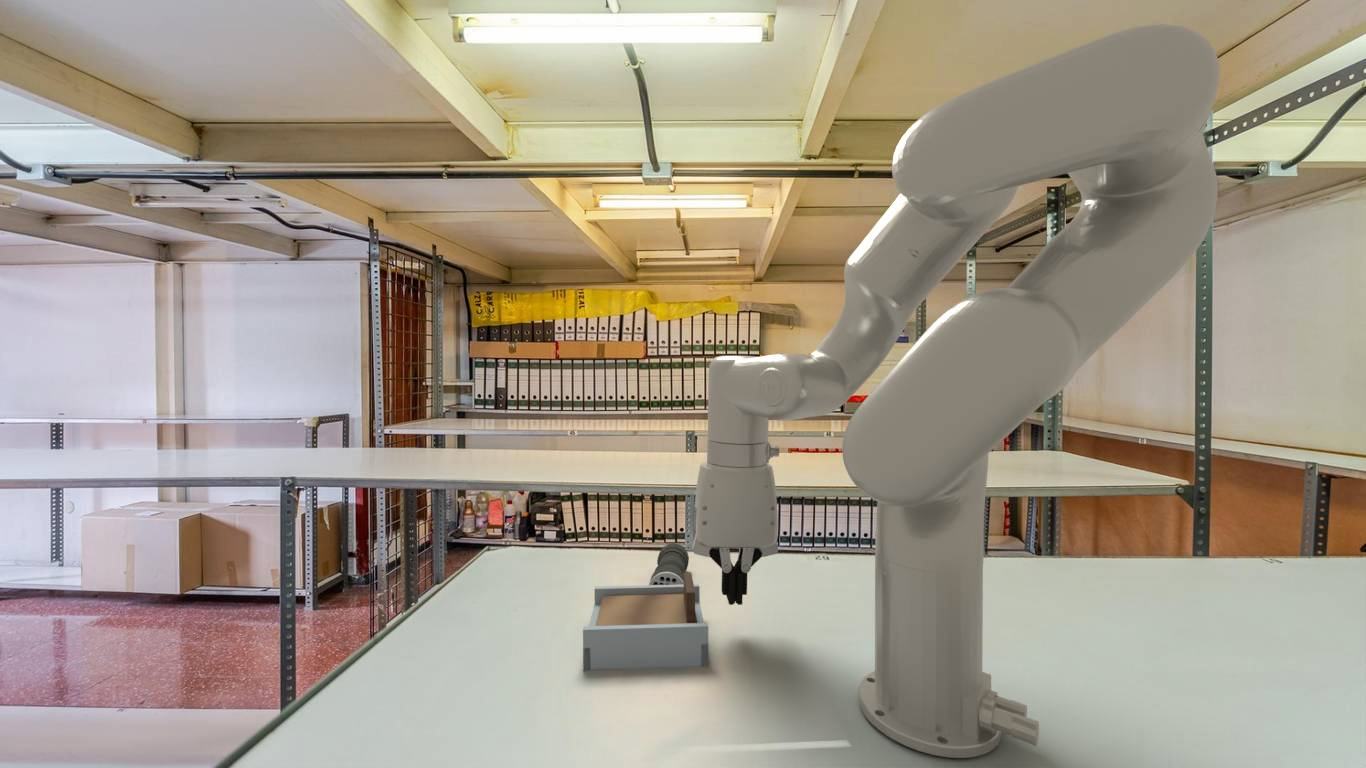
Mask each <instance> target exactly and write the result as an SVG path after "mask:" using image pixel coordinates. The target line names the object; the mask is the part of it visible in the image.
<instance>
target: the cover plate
mask: <svg viewBox="0 0 1366 768" xmlns="http://www.w3.org/2000/svg"><path fill="white" fill-rule="evenodd" d="M694 584H695V583H694V580H693V574H692V572H691V571H685V572H684V594H661V595H623V596H602V601H601V605H600V609H599V613H598V618H597V622H596V626H617V625H652V624H686V623H697V622H696V617H695V589H694Z"/></svg>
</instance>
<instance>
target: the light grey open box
mask: <svg viewBox="0 0 1366 768" xmlns="http://www.w3.org/2000/svg"><path fill="white" fill-rule="evenodd" d="M693 584H694V589H695V617H696V622H697V623H686V624H652V625H617V626H596V622H597V618H598V613H599V609H600V605H601V601H602V596H623V595H661V594H684V584H678V585H675V584H672V585H669V584H666V585H649V584H648V585H646V584H645V585H640V584H639V585H605V586H604V585H603V586H602V585H601V586H595V587H594V605H593V609H592V611H591V616H590V619H589V623H588V626H587V625H586V626H583V629H582V648H583V649H582V662H583V663H582V667H583V668H582V669H583V670H582V671H612V670H613V671H614V670H617V671H618V670H640V669H641V670H642V669H643V670H645V669H647V670H648V669H674V668H675V669H676V668H698V667H699V668H700V667H701V668H704V667H705V668H706V667H709V625H708V622H705V621H704V616H703V612H702V606H701V602H700V584H699V583H693Z"/></svg>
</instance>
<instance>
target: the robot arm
mask: <svg viewBox="0 0 1366 768" xmlns="http://www.w3.org/2000/svg"><path fill="white" fill-rule="evenodd" d="M1219 62H1220V61H1219V59H1218V54H1217V52H1216V50H1215V49H1214V48H1213V46H1212V44H1211V43H1210V42H1209V40H1207V39H1206V38H1205V37H1204V36H1203V35H1201V34H1200V33H1198V32H1197V31H1195V30H1192V29H1189V28H1187V27H1184V26H1181V25H1173V24H1172V25H1171V24H1164V23H1163V24H1162V23H1161V24H1149V25H1148V24H1147V25H1141V26H1136V27H1132V28H1128V29H1123V30H1121V31H1116V32H1113V33H1110V34H1107V35H1105V36H1102V37H1099V38H1097V39H1094V40H1091V41H1089V42H1086V43H1083V44H1081V45H1078V46H1076V47H1073V48H1070V49H1069V50H1068V49H1067V50H1066V51H1064V52H1061V53H1058V54H1055V55H1054V56H1051V57H1048V58H1046V59H1043V60H1041V61H1038V62H1035V63H1033V64H1031V65H1029V66H1026V67H1023V68H1021V69H1018V70H1016V71H1013V72H1011V73H1008V74H1005V75H1003V76H1001V77H998V78H996V79H993V80H991V81H988V82H985V83H983V84H981V85H979V86H976V87H974V88H972V89H970V90H967V91H965V92H962V93H961V94H958V95H957V96H954V97H952V98H950V99H948V100H946V101H945V102H942V103H940V104H938V105H937V106H936V107H933V108H931V110H929V111H928V112H926V113H925V114H923V115H922V116H920V117H919V118H918V119H917V120H916V121H915V122H913V124H912V125H911V126H910V127H908V129H907V130H906V132H905V133H904V134H903V136H902V137H901V138H900V140H899V142H898V143H897V145H896V148H895V151H894V152H893V156H892V165H891V173H892V179H893V182H894V184H895V187H896V189H897V190H898V191H899V195H897V197H896V198H895V200H894V201H893V202H892V204H891V205H890V206H889V207H888V209H887V210H886V211H885V212H884V214H883V215H882V216H881V217H880V219H879V220H878V221H877V222H876V223H875V225H874V226H873V227H872V229H871V230H870V231H869V233H868V234H867V235H866V236H865V237H864V239H862V241H861V243H859V245H858V246H857V248H856V249H855V250H854V251H853V252H852V253H851V254H850V256H849V257H848V258H847V260H846V262H845V266H844V273H843V278H844V287H845V288H844V291H845V298H844V304H843V306H842V310H841V313H840V314H839V317H838V318H837V320H836V322H835V323H834V325H833V327H832V328H831V329H830V331H829V332H828V333H827V334H826V336H825V338H823V339H822V340H821V342H820V343H819V344H818V345H817V346H816V348H815V349H814V350H813V351H812V352H811V353H810V354H807V353H806V354H805V353H804V354H803V353H785V352H784V353H773V354H768V355H761V356H756V355H755V356H754V355H720V356H716V357H714V358H713V359H712V360H711V361H710V364H709V366H708V391H707V397H708V398H707V440H706V441H707V442H706V443H707V444H706V447H707V448H706V462H701V463H700V466H699V470H698V474H697V475H698V477H697V482H696V489H695V503H694V516H693V517H694V519H693V520H694V521H693V527H694V534H695V536H694V538H693V542H692V546H691V548H692V552H693V554H695V555H697V556H701V557H705V558H707V557H708V558H711V560H712V561H713V562H714V563H715V564H716V565H717V566H719V568H720V569H721V594H722V596H726V599H727V603H728V605H730V606H731V605H732V606H733V605H735V604H737V605H738V606H739V605H743V596H747V595H748V573H749V572H750V571H751V569H752V567H753V566H754V565H755V564H756V563H757V562H758V561H759V560H760V559H761V558H764V557H769V556H774V555H776V554H778V553H779V547H778V536H779V535H778V534H779V533H778V532H779V519H778V518H779V517H778V501H777V499H778V498H777V488H776V481H775V473H774V469H773V466H772V465H771V464H769V463H770V460H771V458H774V457H776V458H777V457H780V447H779V445H773V444H771V443H770V442H769V420H773V421H787V422H788V421H795V420H803V419H806V418H814V417H820V416H825V415H828V414H831V413H832V412H834V411H836V410H838V409H839V408H840V407H842V406H843V405H844V404H845V403H846V402H847V401H848V400H849V399H850V398H851V397H852V396H853V395H854V394H855V393H856V392H857V391H858V390H859V389H860V388H861V387H862V386H863V384H865V382H867V380H869V379H870V377H871V376H872V375H873V374H874V373H875V372H876V371H877V369H878V368H879V367H880V366H881V364H882V363H883V362H884V361H885V359H886V358H887V356H888V355H889V354H890V352H891V351H892V349H893V347H894V346H895V344H896V342H897V341H898V339H899V337H900V336H901V335H902V333H903V332H904V330H905V329H906V327H907V325H908V323H909V321H910V319H911V316H912V315H913V313H914V312H915V311H916V309H918V307H919V306H920V305H921V304H922V303H923V301H925V299H926V298H927V297H928V296H930V294H931V293H932V292H933V291H934V290H935V288H936V287H938V285H939V284H940V283H941V282H942V281H943V280H944V279H945V277H946V276H947V275H948V274H949V273H950V272H951V271H952V269H954V268H955V266H956V265H957V264H958V263H959V262H960V261H961V260H962V259H963V258H964V256H966V255H967V253H968V252H969V251H970V250H972V247H974V246H975V245H976V244H977V242H978V241H979V240H980V239H981V238H982V237H983V236H985V233H987V231H988V230H989V229H990V228H991V227H992V226H993V225H994V224H995V222H997V220H998V219H999V218H1000V217H1001V216H1002V215H1003V213H1004V212H1005V210H1007V208H1008V207H1009V205H1010V204H1011V203H1012V201H1013V199H1014V198H1015V196H1016V193H1017V191H1018V189H1019V187H1020V186H1024V185H1028V184H1031V183H1035V182H1038V181H1042V180H1047V179H1051V178H1054V177H1058V176H1062V175H1065V174H1068V176H1069V178H1070V179H1071V181H1072V182H1073V184H1074V185H1075V187H1076V188H1077V189H1078V191H1079V193H1080V195H1081V202H1080V206H1079V209H1078V212H1077V213H1076V215H1075V216H1074V217H1073V218H1072V220H1071V221H1070V222H1069V223H1068V224H1066V226H1064V227H1063V228H1062V229H1061V230H1060V231H1059V232H1058V233H1056V235H1054V236H1053V237H1052V238H1051V239H1050V240H1049V241H1048V243H1046V244H1045V245H1044V246H1043V247H1042V248H1041V249H1040V251H1039V252H1038V254H1037V255H1036V256H1034V258H1033V260H1032V261H1031V262H1030V263H1029V264H1028V265H1027V266H1026V267H1025V268H1024V269H1023V271H1021V272H1020V273H1019V274H1018V275H1017V277H1015V279H1013V280H1012V282H1010V283H1009V285H1008V286H1006V288H1005V287H1004V288H1003V287H1002V288H1000V287H999V288H993V289H988V290H983V291H979V292H977V293H975V294H972V295H969V296H968V297H965V298H963V299H961V300H960V301H958V302H957V303H955V304H954V305H953V306H951V307H950V308H948V309H947V310H946V311H945V312H944V313H942V314H941V315H940V316H939V317H938V318H937V319H936V320H935V321H933V323H932V324H931V325H930V326H929V327H928V328H927V329H926V330H925V331H924V333H923V334H921V336H920V337H919V338H918V339H917V340H916V342H915V343H914V344H913V345H912V346H911V347H910V348H909V349H908V350H907V351H906V352H905V354H903V356H902V357H900V360H899V361H897V363H896V364H895V365H894V366H893V368H891V369H890V371H889V372H888V373H887V374H886V375H885V377H883V379H881V381H880V382H879V383H878V384H877V385H876V387H874V388H873V390H872V391H871V392H870V393H869V395H868V396H866V398H865V399H864V400H863V402H862V403H861V404H860V405H859V406H858V407H857V409H856V410H855V411H854V413H853V414H852V416H851V417H850V419H849V421H848V423H847V425H846V428H845V429H844V430H845V431H844V434H843V437H842V445H841V446H842V448H841V450H842V451H841V452H842V461H843V463H844V467H845V470H846V472H847V474H848V476H849V478H850V479H851V481H852V482H853V484H854V485H855V486H856V488H857V489H858V490H859V491H861V492H862V493H863V494H864V495H865V496H867V497H869V498H870V499H872V500H874V501H875V502H877V506H876V513H875V515H876V516H875V539H874V540H875V541H874V543H875V544H874V545H875V548H874V549H875V551H874V671H870V673H869V674H867V675H865V676H864V677H863V679H861V681H860V684H859V685H858V703H859V707H860V710H861V711H862V713H863V715H864V716H865V717H866V719H867V720H868V721H869V722H870V723H871V724H872V725H873V726H874V727H875V728H876V729H877V730H879V732H881V733H882V734H884V735H885V736H887V737H888V738H890V739H891V740H894V741H895V742H897V743H899V744H901V745H903V746H905V747H907V748H910V749H913V750H915V751H917V752H921V753H925V754H928V755H933V756H936V757H937V756H938V757H943V758H950V759H951V758H952V759H954V758H955V759H966V758H968V759H969V758H975V757H979V756H982V755H983V756H984V755H985V754H988V753H989V752H991V751H993V750H995V748H997V746H998V745H999V744H1000V741H1001V738H1002V733H1003V734H1006V735H1010V736H1011V738H1014V739H1016V740H1019V741H1022V742H1024V743H1026V744H1028V745H1031V746H1034V747H1037V746H1038V743H1039V735H1040V723H1039V721H1038V720H1036V719H1033V718H1030V717H1028V706H1027V704H1025V703H1024V704H1023V703H1021V702H1019V701H1016V700H1013V699H1007V698H1005V697H1002V696H1000V695H998V692H997V691H994V690H992V674H990V673H987V672H984V671H983V647H984V646H983V637H984V635H983V631H984V629H983V627H984V626H983V624H984V623H983V622H984V621H983V619H984V618H983V617H984V616H983V615H984V613H983V612H984V611H983V609H984V608H983V607H984V601H983V598H984V597H983V595H984V594H983V593H984V588H983V587H984V586H983V585H984V538H985V537H984V535H985V534H984V530H985V529H984V528H985V524H984V523H985V507H986V504H985V503H986V491H987V481H988V471H989V470H988V468H989V454H990V452H992V451H993V450H994V449H995V447H997V446H999V444H1000V443H1001V442H1002V441H1003V440H1005V439H1006V438H1007V437H1008V436H1009V435H1010V434H1011V433H1013V432H1014V430H1016V429H1017V428H1018V427H1019V426H1020V425H1021V424H1022V423H1023V422H1025V421H1026V420H1027V419H1028V418H1029V417H1030V416H1031V415H1032V414H1034V412H1035V411H1037V410H1038V408H1040V407H1041V406H1042V405H1043V404H1044V403H1045V402H1047V401H1048V400H1050V399H1052V398H1054V397H1056V395H1058V394H1059V393H1060V392H1061V391H1062V390H1064V389H1065V388H1066V386H1067V385H1068V384H1069V383H1070V381H1071V380H1072V379H1073V378H1074V376H1075V375H1076V373H1077V372H1078V371H1079V370H1080V369H1081V368H1082V366H1084V365H1085V363H1086V362H1087V361H1089V360H1090V358H1091V357H1092V356H1094V354H1095V353H1097V351H1098V350H1100V349H1101V348H1102V346H1103V345H1105V344H1107V342H1108V341H1110V339H1111V338H1112V337H1113V336H1115V334H1117V333H1118V332H1119V331H1120V330H1121V329H1122V328H1123V327H1124V326H1125V325H1126V324H1127V323H1128V322H1129V321H1130V320H1131V319H1132V318H1133V317H1134V316H1135V315H1136V314H1137V313H1138V312H1139V311H1140V310H1142V308H1143V307H1144V306H1145V305H1146V304H1147V303H1148V302H1149V301H1150V300H1151V299H1152V298H1153V297H1154V296H1156V294H1157V293H1159V291H1160V290H1162V289H1163V288H1164V287H1165V286H1166V284H1168V283H1169V282H1170V281H1171V280H1172V279H1173V278H1174V277H1175V276H1176V275H1177V274H1178V273H1179V272H1180V271H1181V269H1183V267H1184V266H1185V265H1186V264H1187V263H1188V262H1189V260H1190V259H1191V258H1192V257H1193V256H1194V254H1195V253H1196V252H1197V250H1198V248H1200V246H1201V244H1202V242H1203V241H1204V239H1205V237H1206V236H1207V234H1208V231H1209V229H1210V227H1211V225H1212V222H1213V219H1214V216H1215V212H1216V208H1217V202H1218V177H1217V172H1216V169H1215V166H1214V163H1213V160H1212V157H1211V155H1210V151H1209V149H1208V146H1207V143H1206V141H1205V136H1204V133H1205V131H1206V127H1207V122H1208V119H1209V118H1210V114H1211V111H1212V110H1213V106H1214V104H1215V102H1216V98H1217V94H1218V91H1219V86H1220V74H1221V73H1220V71H1221V67H1220V63H1219ZM730 549H738V550H739V551H738V555H737V561H735V564H734V565H733V562H732V560H731V552H730Z"/></svg>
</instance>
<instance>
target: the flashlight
mask: <svg viewBox="0 0 1366 768" xmlns="http://www.w3.org/2000/svg"><path fill="white" fill-rule="evenodd" d="M656 561H657V567H655V569H654V572H653V573H652V575H651V577H650V580H649V583H648V585H678V584H684V572H687V570H688V567H689V561H690V556H689V552H688V551H687V550H686V548H685V547H684V546H683V545H681V544H679V543H673V542H672V543H668V544H666V545H664V546H663V547H662V548H661V549H660V551H659V553H658V556H657V560H656ZM668 578H669V580H668ZM673 579H675V580H673Z"/></svg>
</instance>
